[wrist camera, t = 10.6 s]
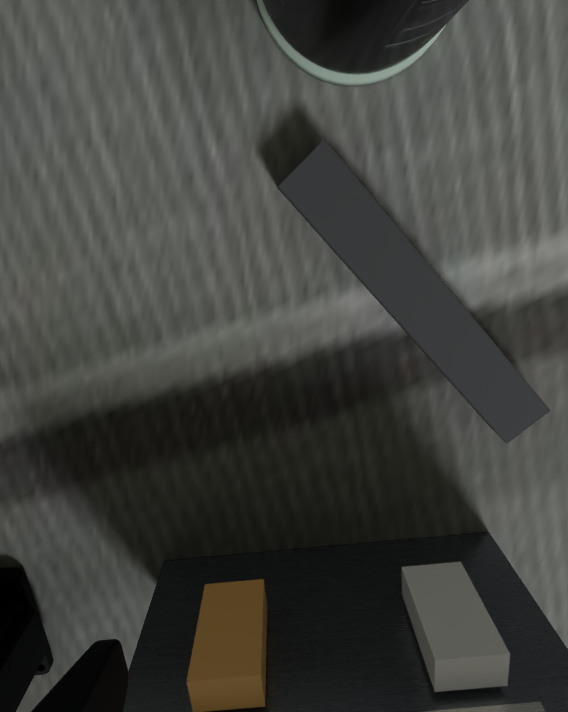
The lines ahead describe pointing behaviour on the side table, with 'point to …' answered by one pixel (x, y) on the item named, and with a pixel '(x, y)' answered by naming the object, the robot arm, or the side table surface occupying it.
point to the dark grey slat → (410, 291)
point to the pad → (330, 75)
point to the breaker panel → (350, 631)
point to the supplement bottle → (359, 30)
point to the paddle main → (230, 648)
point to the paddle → (453, 628)
